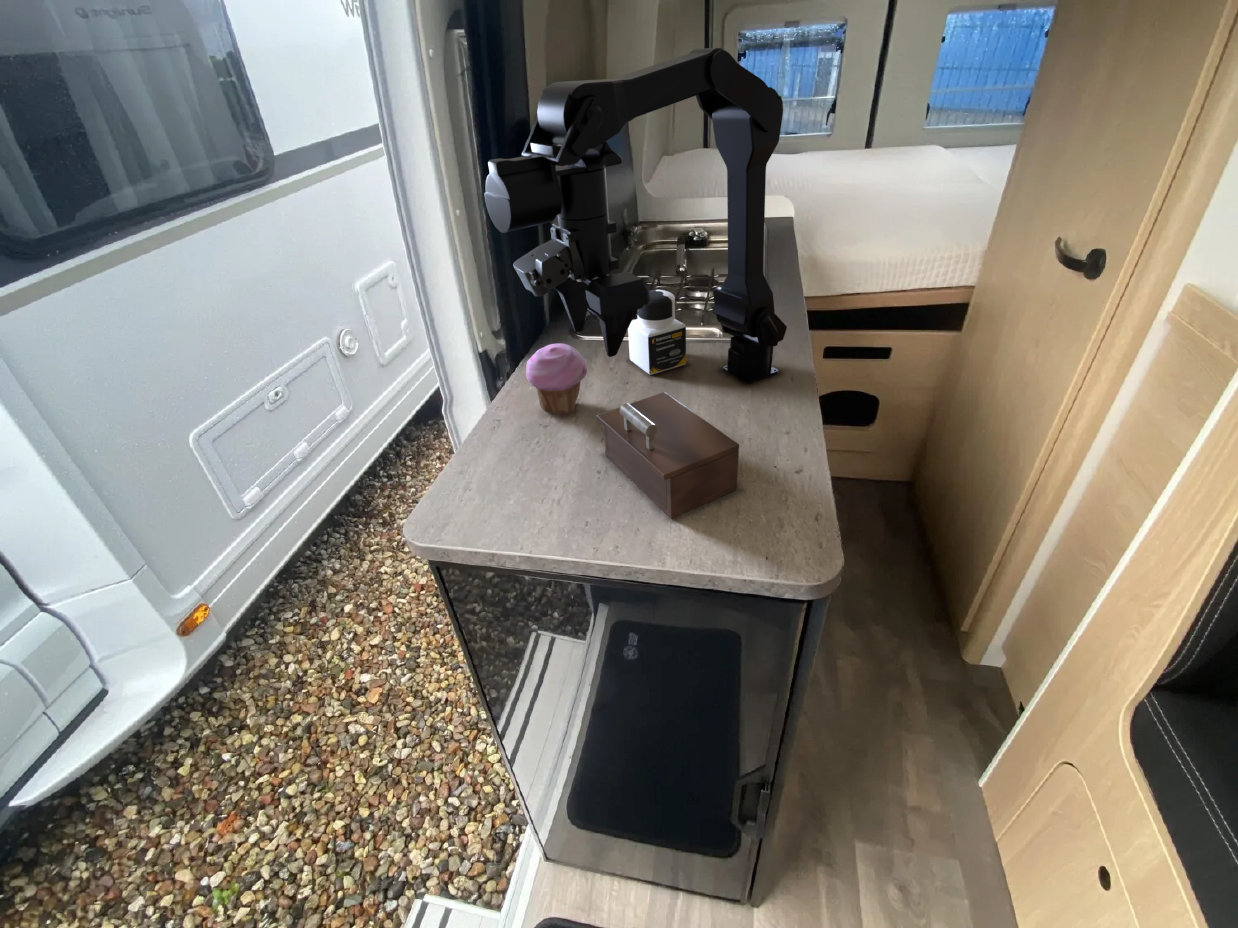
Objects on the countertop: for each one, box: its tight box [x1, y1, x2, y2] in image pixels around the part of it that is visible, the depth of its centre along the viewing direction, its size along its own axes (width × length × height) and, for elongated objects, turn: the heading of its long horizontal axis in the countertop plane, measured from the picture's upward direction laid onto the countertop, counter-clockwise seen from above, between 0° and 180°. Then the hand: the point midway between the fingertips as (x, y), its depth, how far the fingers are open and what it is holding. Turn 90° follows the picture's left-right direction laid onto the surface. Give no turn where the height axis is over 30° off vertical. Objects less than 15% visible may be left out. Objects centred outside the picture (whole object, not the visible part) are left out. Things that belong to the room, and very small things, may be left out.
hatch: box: [596, 391, 740, 481], centre depth 73 cm, size 10×16×4 cm
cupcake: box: [525, 342, 588, 415], centre depth 90 cm, size 9×9×10 cm
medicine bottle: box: [627, 289, 687, 376], centre depth 100 cm, size 7×7×12 cm
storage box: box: [602, 425, 740, 519], centre depth 76 cm, size 10×16×6 cm, turn 30°
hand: (594, 343), depth 77 cm, fingers open, 9 cm apart
